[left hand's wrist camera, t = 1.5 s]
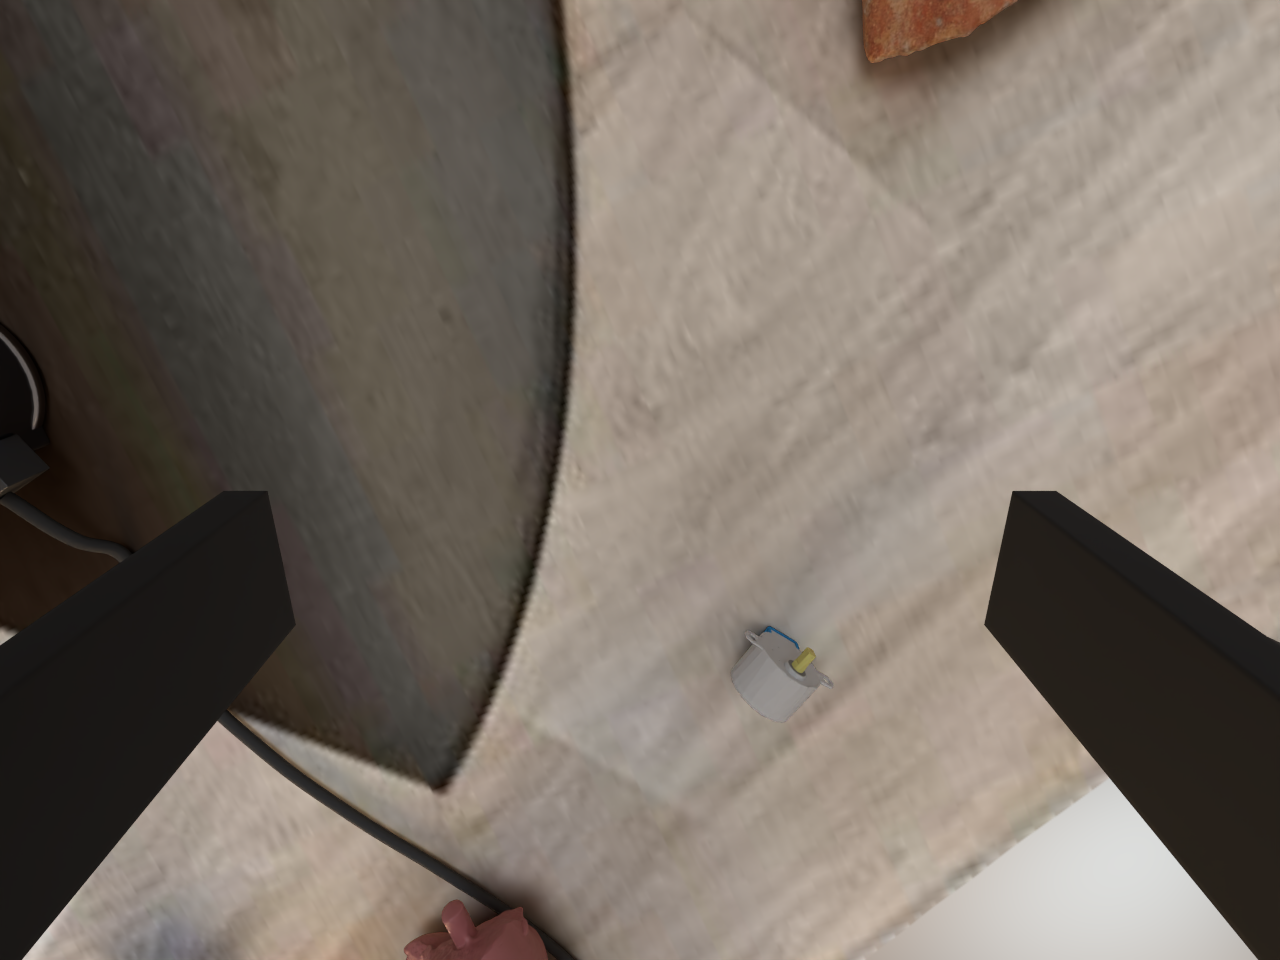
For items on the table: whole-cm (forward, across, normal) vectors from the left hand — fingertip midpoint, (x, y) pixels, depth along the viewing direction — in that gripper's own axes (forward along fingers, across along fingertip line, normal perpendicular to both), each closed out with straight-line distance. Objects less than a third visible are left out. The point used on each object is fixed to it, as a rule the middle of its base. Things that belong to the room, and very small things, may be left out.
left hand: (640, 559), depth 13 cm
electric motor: (+28, +9, -21) cm, 36 cm away
